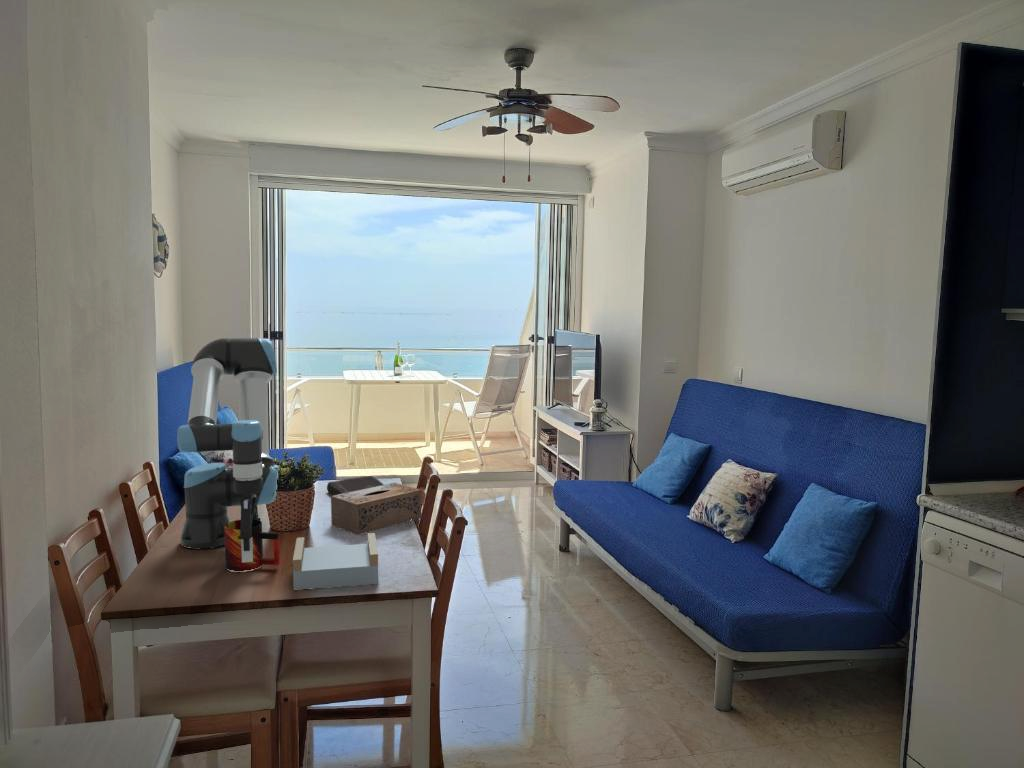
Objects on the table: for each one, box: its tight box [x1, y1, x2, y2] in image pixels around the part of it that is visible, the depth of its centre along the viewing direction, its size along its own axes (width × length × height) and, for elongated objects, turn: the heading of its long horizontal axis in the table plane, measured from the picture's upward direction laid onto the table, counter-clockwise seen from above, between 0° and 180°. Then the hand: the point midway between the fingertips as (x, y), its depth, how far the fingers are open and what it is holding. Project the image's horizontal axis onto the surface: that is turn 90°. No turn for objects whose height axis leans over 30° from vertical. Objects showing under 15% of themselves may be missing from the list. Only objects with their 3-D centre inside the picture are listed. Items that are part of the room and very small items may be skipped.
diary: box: [326, 475, 385, 496], centre depth 276 cm, size 19×25×5 cm
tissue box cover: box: [330, 482, 422, 536], centre depth 245 cm, size 26×14×10 cm, turn 137°
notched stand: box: [292, 532, 379, 590], centre depth 197 cm, size 21×18×8 cm
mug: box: [224, 519, 281, 571], centre depth 203 cm, size 10×14×12 cm
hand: (250, 553), depth 203 cm, fingers open, 13 cm apart
